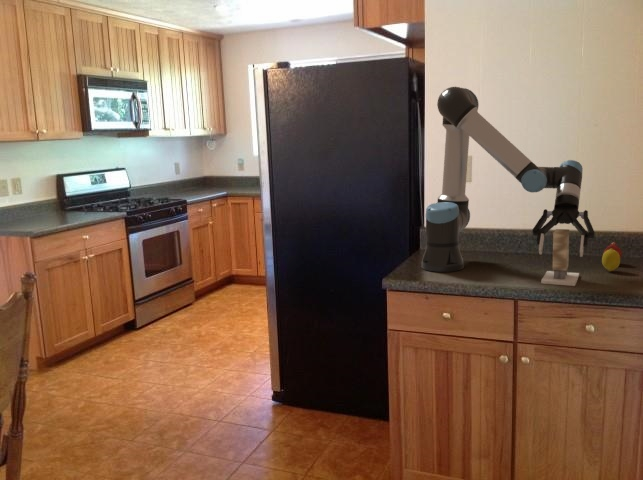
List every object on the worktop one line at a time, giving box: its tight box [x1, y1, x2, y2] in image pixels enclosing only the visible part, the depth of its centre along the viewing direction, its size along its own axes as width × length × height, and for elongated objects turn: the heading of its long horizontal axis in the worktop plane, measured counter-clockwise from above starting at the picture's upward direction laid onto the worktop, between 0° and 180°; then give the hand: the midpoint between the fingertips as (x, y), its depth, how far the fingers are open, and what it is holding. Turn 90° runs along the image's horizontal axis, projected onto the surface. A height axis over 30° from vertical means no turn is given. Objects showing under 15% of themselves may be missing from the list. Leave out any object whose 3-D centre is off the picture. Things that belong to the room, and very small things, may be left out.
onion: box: [603, 242, 623, 259], centre depth 211 cm, size 6×6×8 cm
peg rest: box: [540, 268, 580, 287], centre depth 192 cm, size 10×14×4 cm
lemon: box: [601, 248, 621, 273], centre depth 200 cm, size 6×6×8 cm
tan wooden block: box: [551, 228, 570, 271], centre depth 191 cm, size 4×8×12 cm, turn 152°
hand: (560, 253), depth 189 cm, fingers open, 11 cm apart
